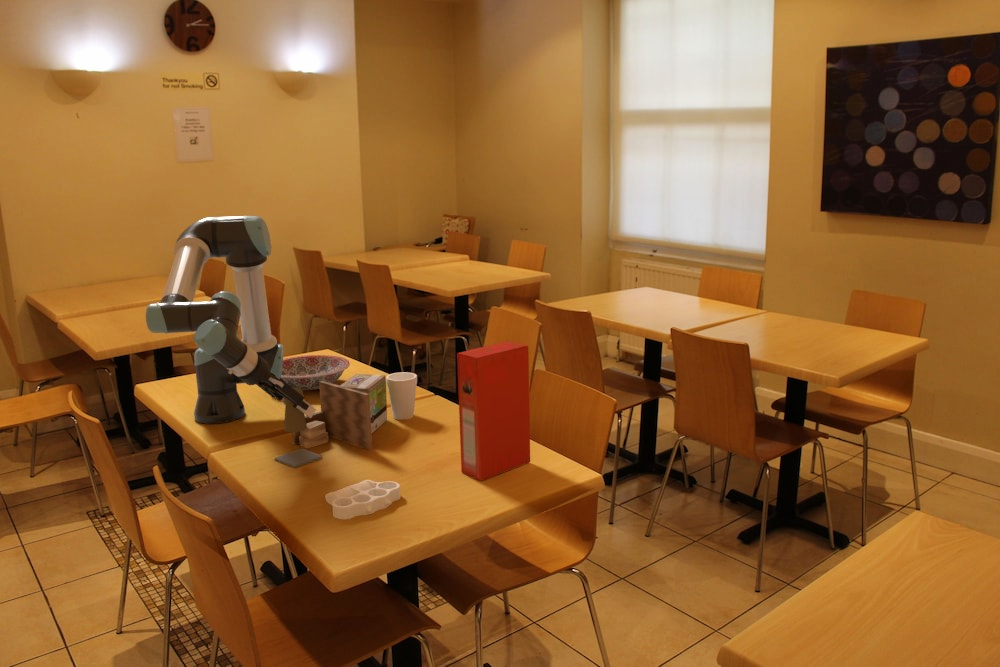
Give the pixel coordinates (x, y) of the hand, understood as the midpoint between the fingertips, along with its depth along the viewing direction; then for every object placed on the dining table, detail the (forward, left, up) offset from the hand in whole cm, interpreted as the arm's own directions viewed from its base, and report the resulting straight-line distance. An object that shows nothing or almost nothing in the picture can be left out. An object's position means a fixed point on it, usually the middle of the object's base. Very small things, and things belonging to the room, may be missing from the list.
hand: (306, 411), depth 223 cm
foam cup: (-4, +39, -13) cm, 41 cm away
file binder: (+46, +26, -13) cm, 54 cm away
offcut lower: (-7, +7, -13) cm, 16 cm away
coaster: (0, -3, -13) cm, 13 cm away
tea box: (-6, +25, -13) cm, 29 cm away
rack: (-1, +8, -13) cm, 15 cm away
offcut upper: (-7, +7, -10) cm, 14 cm away
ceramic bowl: (-54, +40, -13) cm, 69 cm away
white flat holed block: (+36, -10, -13) cm, 39 cm away
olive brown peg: (0, -4, -4) cm, 6 cm away
